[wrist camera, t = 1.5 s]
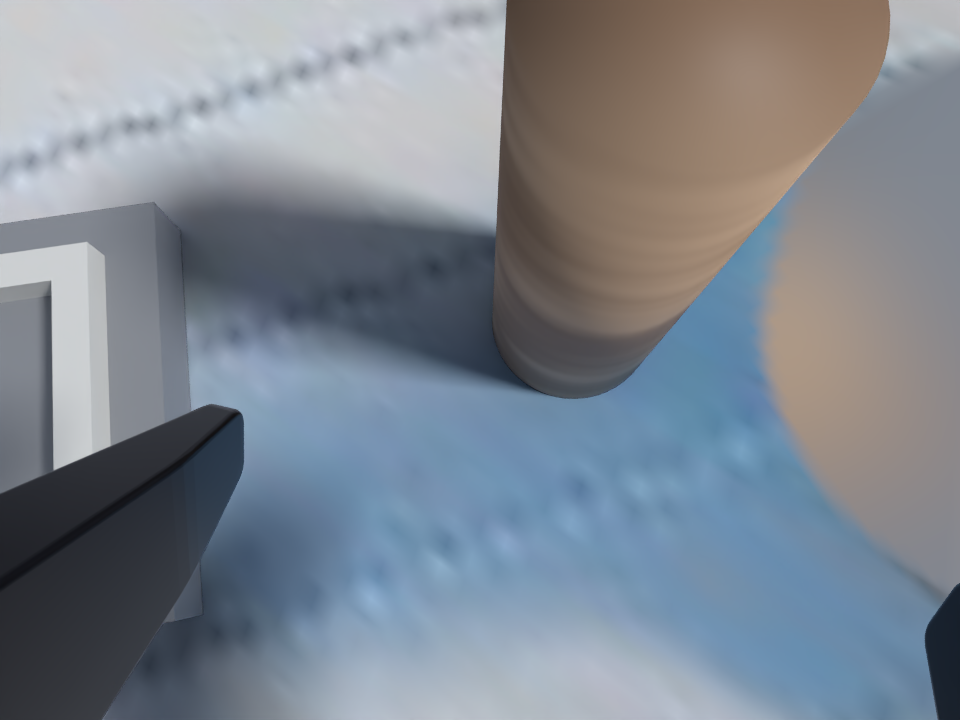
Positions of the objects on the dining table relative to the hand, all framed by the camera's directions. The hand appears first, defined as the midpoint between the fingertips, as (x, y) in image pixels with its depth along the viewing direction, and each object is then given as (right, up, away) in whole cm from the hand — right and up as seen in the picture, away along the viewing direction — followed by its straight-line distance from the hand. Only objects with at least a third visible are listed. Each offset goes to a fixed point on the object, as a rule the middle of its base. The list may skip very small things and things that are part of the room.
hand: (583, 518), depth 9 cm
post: (+2, +3, +14) cm, 14 cm away
